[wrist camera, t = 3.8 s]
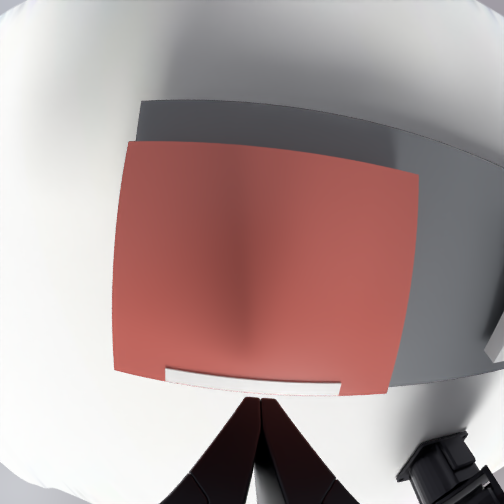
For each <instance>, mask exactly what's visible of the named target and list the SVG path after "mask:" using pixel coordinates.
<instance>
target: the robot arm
mask: <svg viewBox="0 0 504 504" xmlns="http://www.w3.org/2000/svg"><path fill="white" fill-rule="evenodd" d="M467 435H468V433H467V432H466V431H464V432H461V433H458V434H454V435H451V436H447V437H444V438H440V439H436V440H432V441H428V442H425V443H423V444H421V445H420V446H419V448H418V449H417V451H416V452H415V454H414V455H413V457H412V458H411V459H410V461H409V462H408V464H407V465H406V466H405V468H404V469H403V470H402V472H401V473H400V474H399V476H398V477H397V478H396V480H397V482H402V481H406V480H410V482H411V484H412V487H413V489H414V491H415V494H416V496H417V498H418V501H419V503H420V504H504V492H503V490H502V489H501V487H500V485H499V484H498V482H497V481H496V479H495V477H494V476H493V474H492V473H491V471H490V470H489V468H488V467H487V465H485V466H484V467H483V468H482V469H481V470H479V469H478V467H477V466H476V464H475V463H474V462H475V461H476V460H475V457H474V456H473V454H472V453H471V451H470V450H469V448H468V447H467V445H466V444H465V442H464V440H465V438H466V437H467ZM253 468H254V473H255V484H256V495H257V504H360V503H359V502H357V500H356V499H355V498H354V497H353V496H352V495H351V494H350V493H349V492H348V491H347V490H346V489H345V487H344V486H343V485H342V484H341V483H340V481H339V480H336V477H335V476H334V474H333V473H332V472H331V471H330V469H329V468H328V467H327V466H326V465H325V463H324V462H323V461H322V460H321V458H320V457H319V456H318V455H317V453H316V452H315V451H314V450H313V448H312V447H311V446H310V444H309V443H308V442H307V441H306V439H305V438H304V437H303V435H302V434H301V433H300V431H299V430H298V429H297V427H296V426H295V425H294V423H293V422H292V421H291V419H290V418H289V417H288V415H287V414H286V413H285V411H284V410H283V409H282V407H281V406H280V404H279V403H278V402H277V400H276V399H271V398H262V399H261V400H260V399H259V398H257V397H245V398H244V399H243V401H242V402H241V404H240V405H239V406H238V408H237V409H236V411H235V412H234V413H233V415H232V416H231V418H230V419H229V420H228V422H227V423H226V424H225V426H224V427H223V429H222V430H221V431H220V433H219V434H218V435H217V437H216V438H215V439H214V441H213V442H212V443H211V445H210V446H209V447H208V448H207V450H206V451H205V452H204V454H203V455H202V456H201V458H200V459H199V460H198V461H197V463H196V464H195V465H194V466H193V468H192V469H191V470H190V471H189V474H187V475H186V476H185V477H184V478H183V480H182V481H181V482H180V483H179V484H178V485H177V487H176V488H175V489H174V490H173V491H172V492H171V493H170V494H169V495H168V496H167V497H166V498H165V499H164V500H163V501H162V502H161V503H159V504H246V500H247V495H248V491H249V487H250V482H251V478H252V473H253ZM488 481H490V483H489V484H488V485H487V486H485V487H483V485H484V484H485V483H487V482H488Z"/></svg>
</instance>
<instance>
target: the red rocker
mask: <svg viewBox="0 0 504 504" xmlns="http://www.w3.org/2000/svg"><path fill="white" fill-rule="evenodd" d="M418 195H419V175H418V174H414V173H410V172H406V171H402V170H397V169H393V168H389V167H384V166H379V165H375V164H370V163H365V162H360V161H355V160H349V159H344V158H338V157H332V156H326V155H320V154H314V153H307V152H300V151H292V150H284V149H276V148H267V147H257V146H247V145H235V144H221V143H203V142H176V141H129V142H128V147H127V153H126V158H125V164H124V170H123V176H122V183H121V190H120V197H119V205H118V213H117V223H116V234H115V246H114V261H113V285H112V333H113V356H114V370H116V371H120V372H124V373H129V374H133V375H137V376H142V377H146V378H151V379H156V380H161V381H166V382H172V383H177V384H183V385H189V386H196V387H203V388H210V389H218V390H226V391H235V392H246V393H258V394H273V395H294V396H349V395H370V394H385V393H387V390H388V386H389V383H390V380H391V376H392V372H393V369H394V365H395V361H396V357H397V353H398V349H399V345H400V340H401V336H402V331H403V326H404V321H405V316H406V311H407V305H408V300H409V293H410V287H411V280H412V273H413V265H414V256H415V246H416V234H417V219H418Z"/></svg>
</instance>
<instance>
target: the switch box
mask: <svg viewBox="0 0 504 504" xmlns="http://www.w3.org/2000/svg"><path fill="white" fill-rule="evenodd" d="M136 141H176V142H203V143H221V144H235V145H247V146H257V147H267V148H276V149H284V150H292V151H300V152H307V153H314V154H320V155H326V156H332V157H338V158H344V159H349V160H355V161H360V162H365V163H370V164H375V165H379V166H384V167H389V168H393V169H397V170H402V171H406V172H410V173H414V174H418V175H419V195H418V219H417V234H416V246H415V256H414V265H413V273H412V280H411V287H410V293H409V300H408V305H407V311H406V316H405V321H404V326H403V331H402V336H401V340H400V345H399V349H398V353H397V357H396V361H395V365H394V369H393V372H392V376H391V380H390V383H389V386H388V387H395V386H406V385H415V384H424V383H432V382H439V381H446V380H452V379H458V378H464V377H469V376H474V375H479V374H484V373H488V372H493V371H497V370H501V369H504V361H502V362H497V363H493V362H492V361H491V359H490V358H489V357H488V355H487V354H486V353H485V351H484V349H485V347H486V345H487V343H488V341H489V340H490V338H491V336H492V334H493V332H494V330H495V328H496V326H497V324H498V322H499V320H500V318H501V316H502V314H503V312H504V168H503V167H500V166H498V165H496V164H494V163H492V162H489V161H487V160H485V159H483V158H480V157H478V156H475V155H473V154H471V153H468V152H466V151H463V150H460V149H458V148H455V147H452V146H450V145H447V144H444V143H441V142H438V141H436V140H433V139H430V138H427V137H423V136H420V135H417V134H414V133H410V132H407V131H404V130H400V129H397V128H393V127H389V126H386V125H382V124H378V123H374V122H370V121H365V120H361V119H356V118H352V117H347V116H342V115H337V114H332V113H326V112H321V111H315V110H309V109H302V108H295V107H288V106H280V105H271V104H261V103H250V102H236V101H218V100H151V101H141V107H140V114H139V120H138V127H137V135H136Z"/></svg>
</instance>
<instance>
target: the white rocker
mask: <svg viewBox="0 0 504 504" xmlns="http://www.w3.org/2000/svg"><path fill="white" fill-rule="evenodd" d="M484 351H485V353H486V354H487V355H488V357H489V358H490V359H491V361H492V362H493V363H497V362H502V361H504V312H503V314H502V316H501V318H500V320H499V322H498V324H497V326H496V328H495V330H494V332H493V334H492V336H491V338H490V340H489V341H488V343H487V345H486V347H485V349H484Z"/></svg>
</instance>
